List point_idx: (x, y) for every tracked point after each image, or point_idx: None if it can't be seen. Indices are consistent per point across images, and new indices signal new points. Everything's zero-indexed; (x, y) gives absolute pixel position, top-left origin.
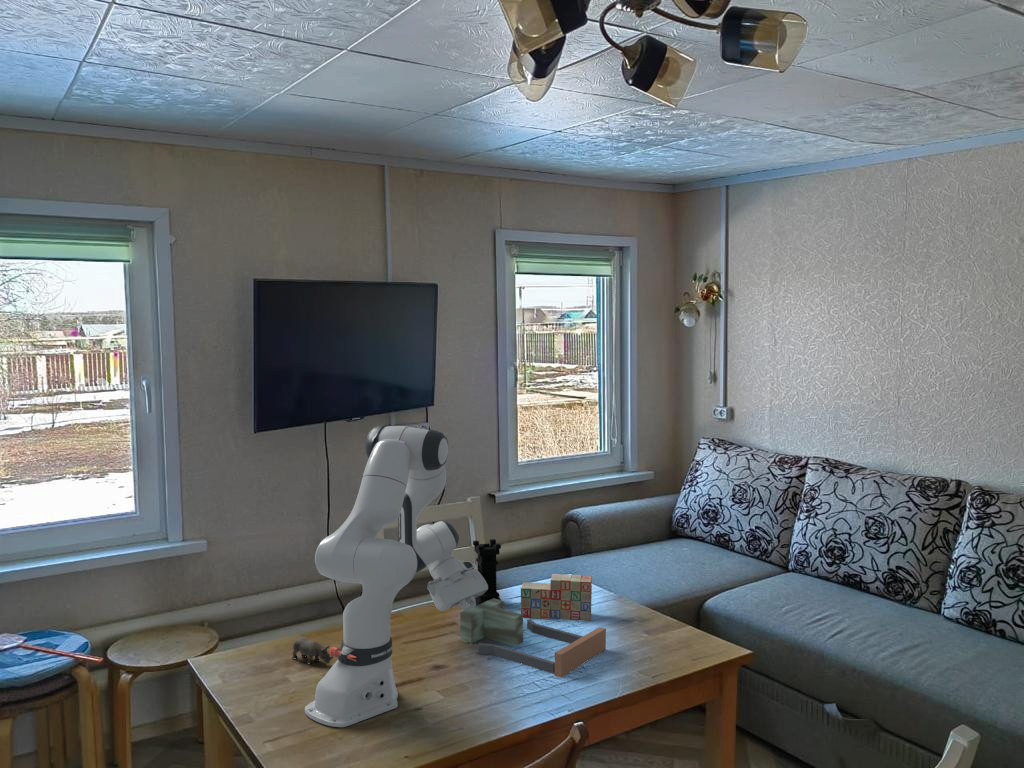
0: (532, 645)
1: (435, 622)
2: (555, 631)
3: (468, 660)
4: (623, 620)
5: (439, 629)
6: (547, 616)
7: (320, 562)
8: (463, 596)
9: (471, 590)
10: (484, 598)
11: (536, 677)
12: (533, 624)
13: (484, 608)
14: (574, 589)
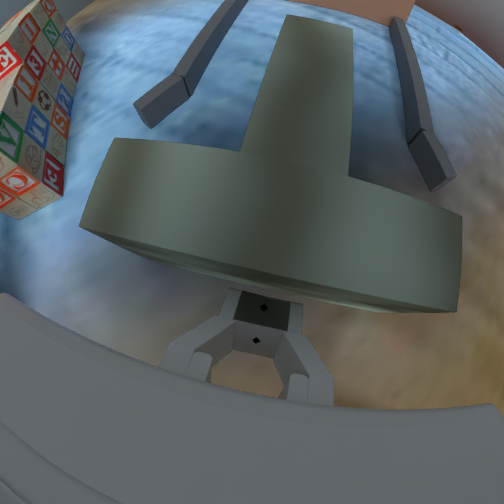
0: None
1: None
2: (216, 28)
3: (477, 201)
4: (83, 29)
5: None
6: (65, 120)
7: None
8: (318, 422)
9: (133, 406)
10: None
11: (429, 54)
12: (180, 77)
13: (313, 184)
14: (43, 22)
